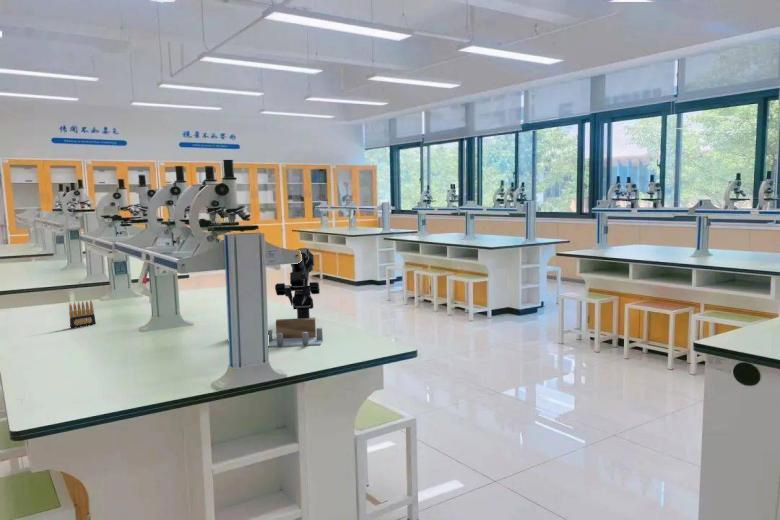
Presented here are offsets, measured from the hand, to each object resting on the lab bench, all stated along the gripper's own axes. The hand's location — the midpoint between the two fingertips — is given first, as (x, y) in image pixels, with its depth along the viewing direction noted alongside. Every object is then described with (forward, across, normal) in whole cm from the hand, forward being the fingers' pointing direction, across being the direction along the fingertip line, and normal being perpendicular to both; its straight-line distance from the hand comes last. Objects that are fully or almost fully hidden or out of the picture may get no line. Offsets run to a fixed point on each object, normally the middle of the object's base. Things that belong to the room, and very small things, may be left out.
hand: (296, 304), depth 246 cm
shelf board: (+14, 0, +4) cm, 14 cm away
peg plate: (+19, 0, -1) cm, 19 cm away
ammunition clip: (-12, -105, +30) cm, 110 cm away
